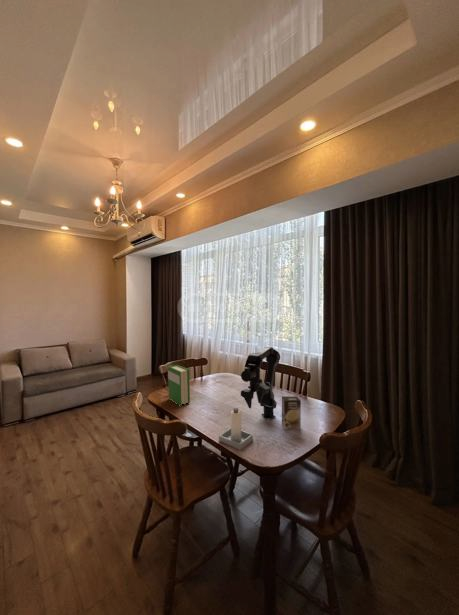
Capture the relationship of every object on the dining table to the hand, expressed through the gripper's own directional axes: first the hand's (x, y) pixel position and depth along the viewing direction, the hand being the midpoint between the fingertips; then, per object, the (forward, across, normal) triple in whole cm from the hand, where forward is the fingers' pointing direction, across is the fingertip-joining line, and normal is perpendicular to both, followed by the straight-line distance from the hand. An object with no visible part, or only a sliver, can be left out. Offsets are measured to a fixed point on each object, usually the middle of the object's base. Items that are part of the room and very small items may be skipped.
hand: (254, 405), depth 137 cm
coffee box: (+13, +15, -14) cm, 24 cm away
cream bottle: (+13, -15, +1) cm, 20 cm away
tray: (+13, -15, +1) cm, 20 cm away
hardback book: (+13, -2, +64) cm, 65 cm away
